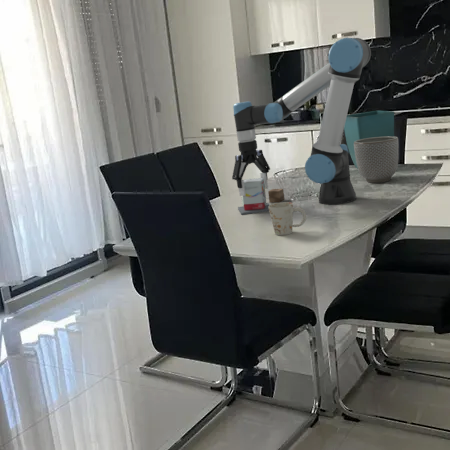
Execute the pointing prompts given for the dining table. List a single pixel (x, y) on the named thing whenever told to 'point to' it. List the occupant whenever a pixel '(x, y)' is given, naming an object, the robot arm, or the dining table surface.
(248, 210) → the slate pad
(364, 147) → the planter
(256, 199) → the ink box
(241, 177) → the robot arm
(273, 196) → the walnut block
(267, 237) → the dining table surface
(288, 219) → the mug
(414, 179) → the dining table surface
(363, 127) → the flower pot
